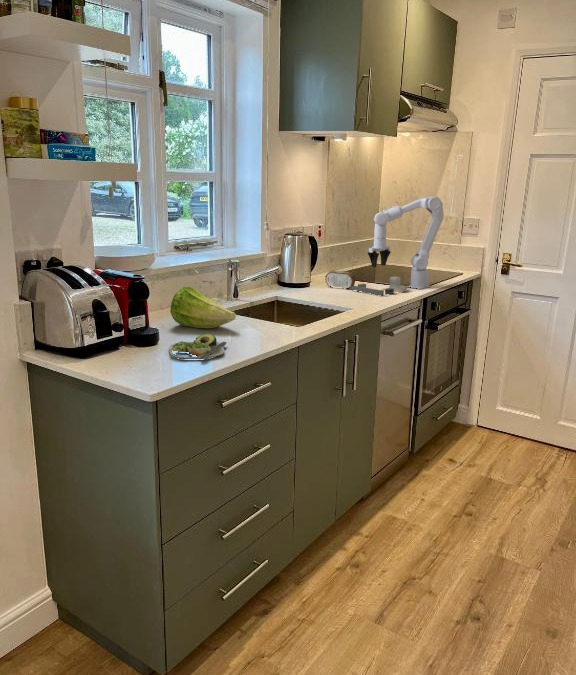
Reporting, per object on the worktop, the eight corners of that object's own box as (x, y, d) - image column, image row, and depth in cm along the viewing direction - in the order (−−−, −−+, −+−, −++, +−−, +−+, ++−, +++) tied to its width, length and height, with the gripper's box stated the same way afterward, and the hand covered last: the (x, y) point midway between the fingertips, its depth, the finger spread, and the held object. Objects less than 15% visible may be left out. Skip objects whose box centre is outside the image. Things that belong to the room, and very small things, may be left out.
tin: (355, 289, 279) (355, 272, 277) (352, 290, 277) (353, 273, 274) (327, 286, 287) (327, 269, 284) (324, 287, 284) (324, 270, 282)
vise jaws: (361, 288, 282) (361, 283, 282) (394, 293, 269) (395, 288, 268) (349, 290, 276) (349, 285, 275) (383, 296, 263) (383, 291, 262)
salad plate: (231, 363, 168) (231, 347, 167) (169, 366, 165) (168, 350, 163) (225, 344, 186) (225, 331, 185) (169, 347, 183) (168, 333, 182)
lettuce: (246, 330, 207) (221, 343, 195) (192, 317, 218) (165, 329, 206) (246, 291, 202) (221, 302, 190) (190, 280, 213) (163, 290, 201)
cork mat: (391, 288, 283) (391, 287, 283) (408, 290, 276) (408, 290, 276) (381, 290, 278) (381, 289, 278) (399, 293, 271) (399, 292, 271)
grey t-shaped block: (393, 288, 280) (394, 276, 278) (406, 290, 274) (407, 278, 273) (389, 289, 277) (389, 277, 275) (402, 291, 272) (403, 279, 270)
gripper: (382, 236, 286) (380, 263, 290) (364, 238, 277) (362, 266, 280) (394, 237, 282) (392, 265, 285) (376, 239, 272) (374, 268, 275)
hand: (378, 266), depth 282 cm, fingers open, 7 cm apart
